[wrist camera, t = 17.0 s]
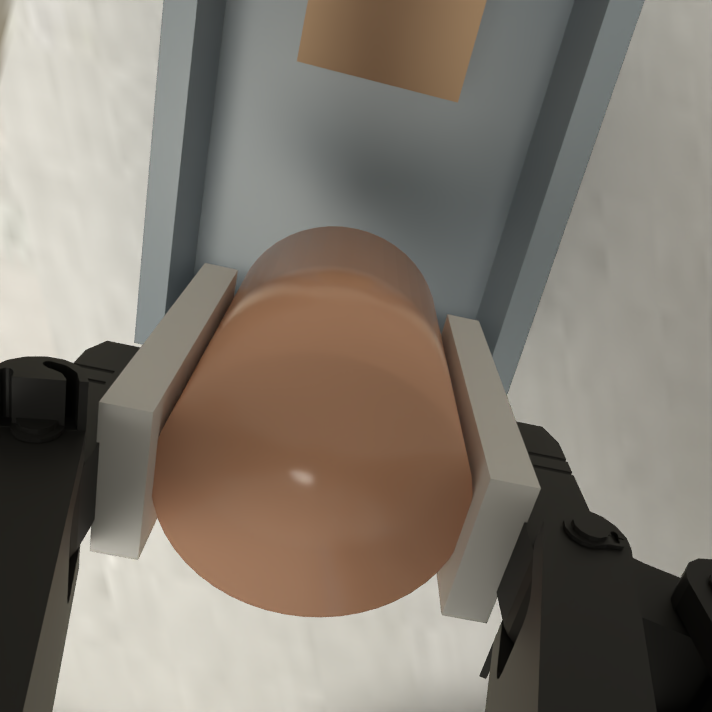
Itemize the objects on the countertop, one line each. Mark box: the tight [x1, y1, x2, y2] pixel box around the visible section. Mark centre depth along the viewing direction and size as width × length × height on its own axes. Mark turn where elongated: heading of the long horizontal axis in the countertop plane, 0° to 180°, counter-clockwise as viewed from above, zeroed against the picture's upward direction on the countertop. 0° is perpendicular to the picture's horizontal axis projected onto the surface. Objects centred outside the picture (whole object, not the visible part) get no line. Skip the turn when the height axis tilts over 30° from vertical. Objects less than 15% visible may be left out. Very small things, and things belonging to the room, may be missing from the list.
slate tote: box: [134, 0, 645, 396], centre depth 24 cm, size 14×18×5 cm
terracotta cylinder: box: [152, 226, 473, 617], centre depth 14 cm, size 5×5×7 cm
